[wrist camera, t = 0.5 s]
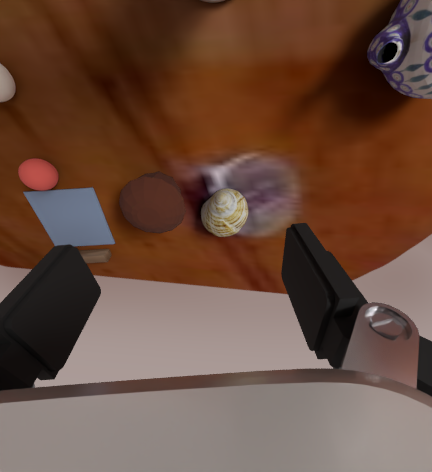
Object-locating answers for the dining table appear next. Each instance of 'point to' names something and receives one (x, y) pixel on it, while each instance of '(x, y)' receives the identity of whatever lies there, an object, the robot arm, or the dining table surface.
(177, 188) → the muffin
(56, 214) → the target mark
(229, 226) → the seashell
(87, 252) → the stopper wall
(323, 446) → the robot arm
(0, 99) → the cue ball
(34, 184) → the red ball
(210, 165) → the dining table surface
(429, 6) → the teapot
